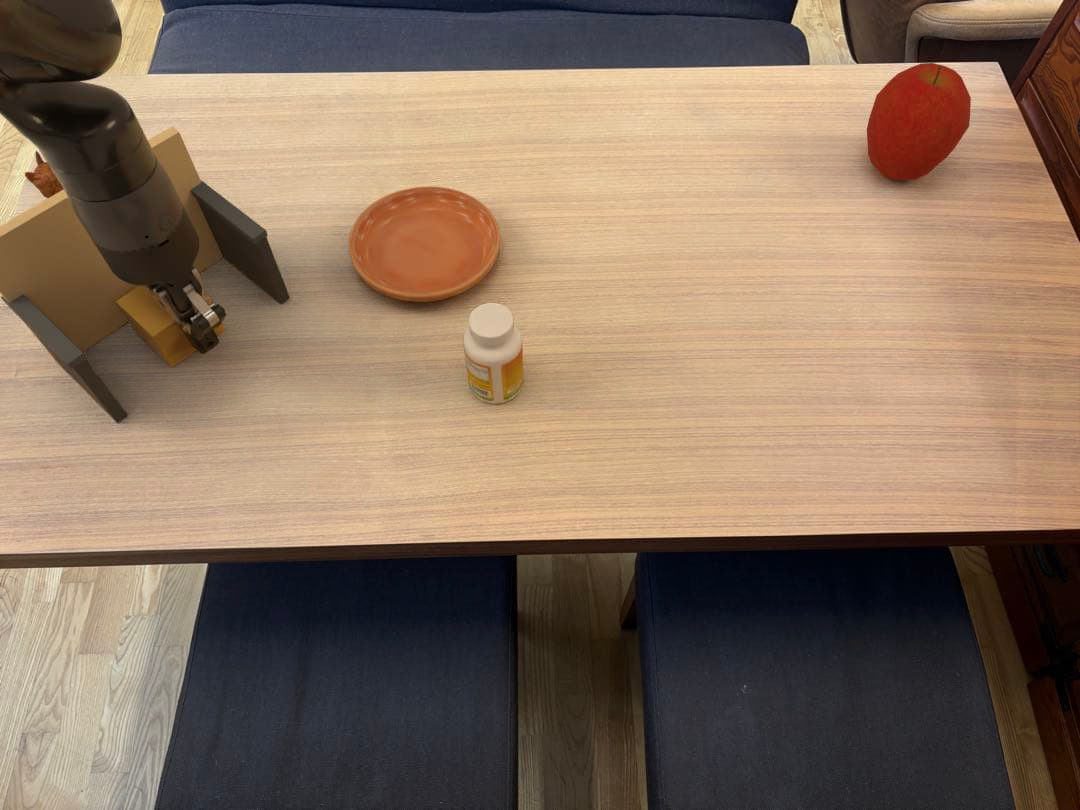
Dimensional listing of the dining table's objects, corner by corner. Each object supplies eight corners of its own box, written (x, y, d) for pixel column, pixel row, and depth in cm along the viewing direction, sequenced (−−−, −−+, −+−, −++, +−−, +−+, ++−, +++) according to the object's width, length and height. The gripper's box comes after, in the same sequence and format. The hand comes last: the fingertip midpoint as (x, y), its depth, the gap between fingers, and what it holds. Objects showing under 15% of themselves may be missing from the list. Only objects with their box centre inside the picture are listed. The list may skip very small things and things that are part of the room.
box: (172, 367, 84) (152, 336, 80) (135, 333, 86) (114, 301, 82) (226, 329, 87) (210, 297, 82) (189, 296, 89) (171, 264, 85)
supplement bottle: (520, 357, 84) (518, 293, 76) (526, 402, 82) (524, 340, 73) (466, 362, 84) (458, 299, 76) (470, 408, 81) (462, 346, 73)
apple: (935, 209, 95) (989, 105, 84) (845, 188, 97) (886, 83, 86) (944, 151, 101) (996, 46, 89) (859, 132, 103) (899, 26, 91)
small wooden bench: (291, 297, 89) (247, 179, 76) (115, 425, 80) (30, 318, 67) (227, 245, 93) (173, 125, 80) (53, 361, 84) (-40, 248, 71)
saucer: (520, 222, 95) (519, 202, 92) (471, 329, 86) (468, 310, 84) (388, 192, 97) (384, 172, 95) (328, 293, 89) (322, 274, 87)
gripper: (48, 200, 69) (135, 332, 84) (139, 281, 64) (215, 407, 79) (128, 154, 72) (199, 289, 87) (221, 228, 67) (279, 358, 82)
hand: (207, 345), depth 83 cm, fingers closed
